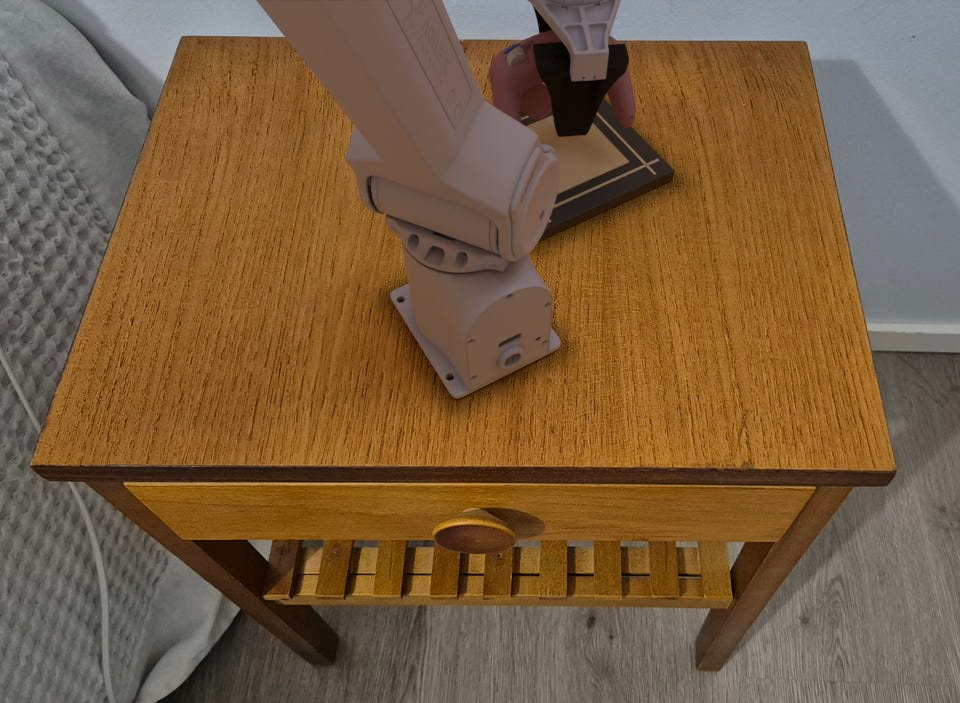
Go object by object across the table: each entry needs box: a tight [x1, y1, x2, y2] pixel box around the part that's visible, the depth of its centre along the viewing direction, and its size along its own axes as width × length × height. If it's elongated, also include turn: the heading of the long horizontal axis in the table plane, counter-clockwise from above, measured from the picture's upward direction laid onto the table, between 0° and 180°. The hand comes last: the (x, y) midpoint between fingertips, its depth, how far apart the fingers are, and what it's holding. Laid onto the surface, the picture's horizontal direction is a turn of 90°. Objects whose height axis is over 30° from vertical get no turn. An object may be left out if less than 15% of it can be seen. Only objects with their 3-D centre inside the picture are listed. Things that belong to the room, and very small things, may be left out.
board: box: [520, 97, 675, 242], centre depth 61 cm, size 12×12×1 cm
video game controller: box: [488, 30, 637, 128], centre depth 56 cm, size 10×5×7 cm, turn 106°
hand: (565, 98), depth 57 cm, fingers closed on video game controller, 6 cm apart
